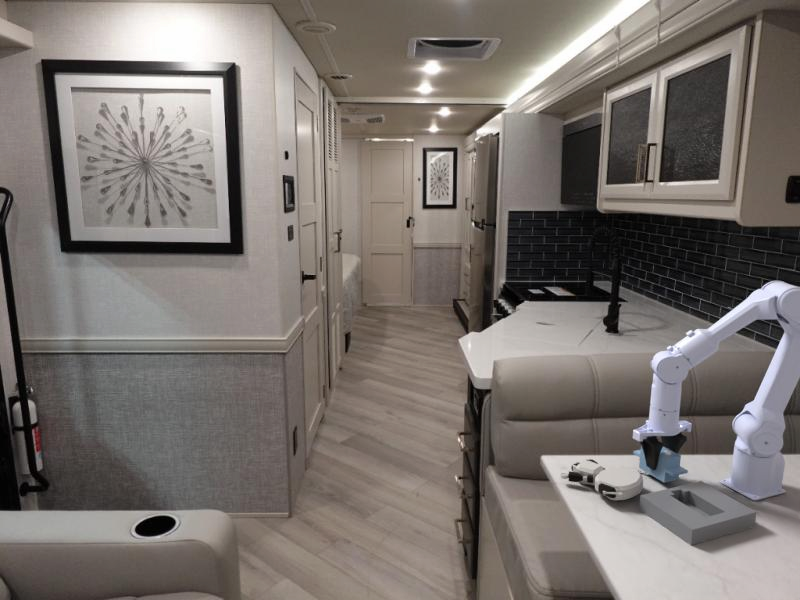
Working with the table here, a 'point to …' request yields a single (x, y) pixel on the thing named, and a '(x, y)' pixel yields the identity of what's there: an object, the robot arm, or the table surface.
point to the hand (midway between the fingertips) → (659, 466)
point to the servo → (663, 465)
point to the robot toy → (607, 479)
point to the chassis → (697, 512)
